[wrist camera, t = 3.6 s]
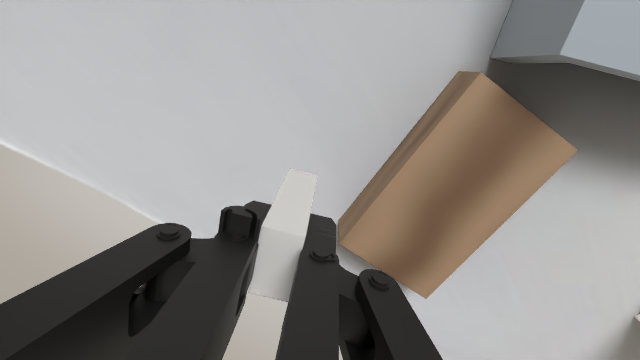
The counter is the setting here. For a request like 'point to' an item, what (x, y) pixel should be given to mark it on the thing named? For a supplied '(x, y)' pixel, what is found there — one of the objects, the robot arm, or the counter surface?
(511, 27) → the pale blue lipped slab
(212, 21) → the counter surface
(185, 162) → the counter surface
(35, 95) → the counter surface
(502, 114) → the board
